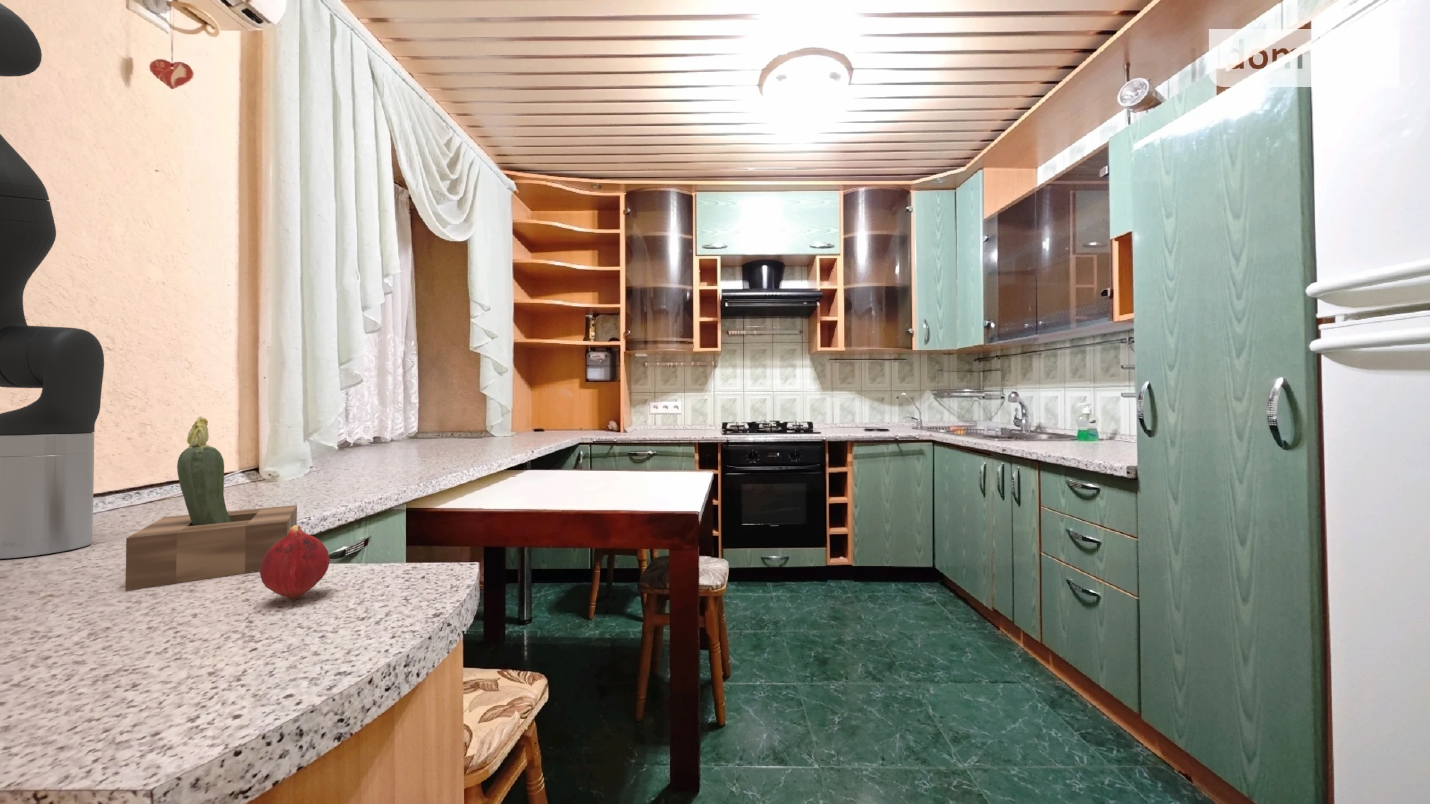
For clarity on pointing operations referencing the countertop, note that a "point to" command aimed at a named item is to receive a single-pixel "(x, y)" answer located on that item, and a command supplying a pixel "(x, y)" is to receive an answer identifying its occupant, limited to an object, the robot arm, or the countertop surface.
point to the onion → (294, 564)
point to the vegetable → (202, 478)
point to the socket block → (204, 546)
